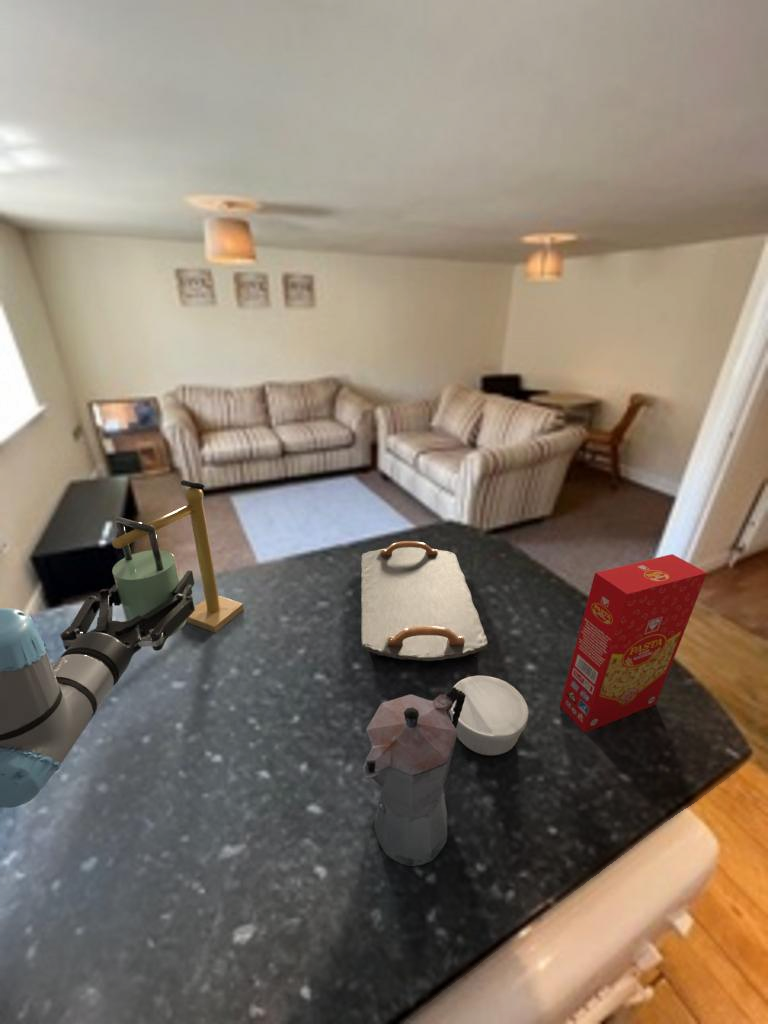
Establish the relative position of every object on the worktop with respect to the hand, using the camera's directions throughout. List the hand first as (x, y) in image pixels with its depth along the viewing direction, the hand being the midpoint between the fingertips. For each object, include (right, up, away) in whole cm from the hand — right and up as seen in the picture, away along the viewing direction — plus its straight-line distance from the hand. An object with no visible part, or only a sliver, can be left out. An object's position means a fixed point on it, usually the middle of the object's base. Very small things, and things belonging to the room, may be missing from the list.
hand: (163, 576), depth 78 cm
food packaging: (+74, -20, -7) cm, 77 cm away
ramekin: (+54, -21, -11) cm, 59 cm away
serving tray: (+45, -8, +17) cm, 49 cm away
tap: (+2, -12, +6) cm, 13 cm away
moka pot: (+42, -27, -23) cm, 55 cm away
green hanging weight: (0, -8, -1) cm, 8 cm away
